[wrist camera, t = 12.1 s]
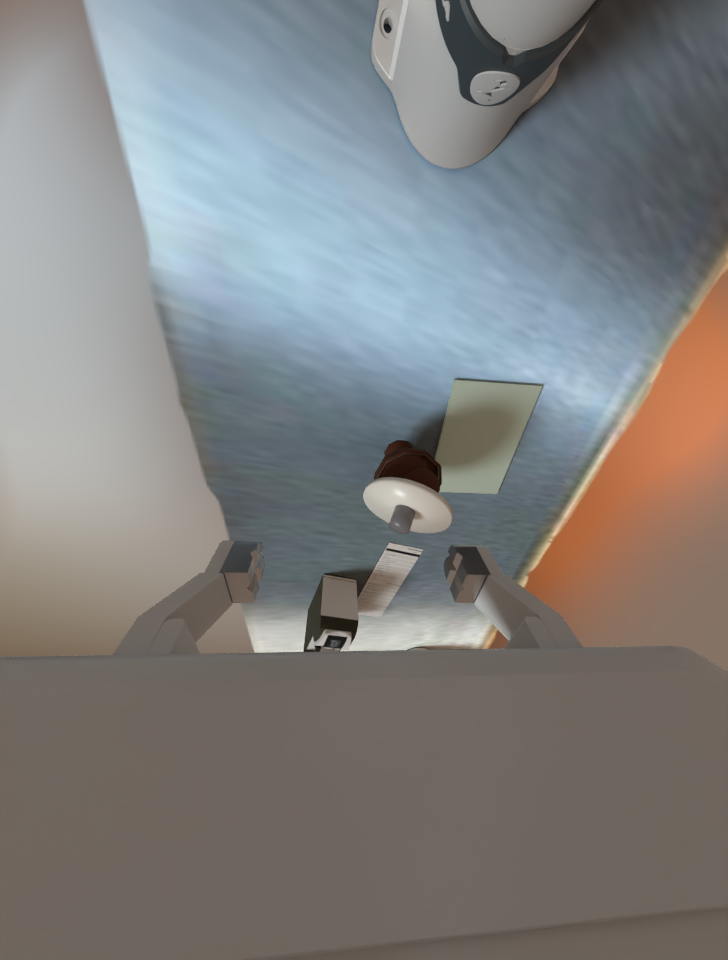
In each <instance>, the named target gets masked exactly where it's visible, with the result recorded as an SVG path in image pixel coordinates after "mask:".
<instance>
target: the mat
mask: <svg viewBox="0 0 728 960" xmlns="http://www.w3.org/2000/svg"><path fill="white" fill-rule="evenodd" d="M542 387H543V386H541V385H527V384H514V383H500V382H486V381H472V380H459V379H454V381H453V385H452V389H451V393H450V397H449V401H448V405H447V409H446V414H445V418H444V422H443V426H442V430H441V434H440V438H439V442H438V446H437V450H436V454H435V458H434V459H435V460H436V461H437V462H438V463H439V464H440V465H441V469H442V485H441V486H440V491H439V492H458V493H487V494H497V493H498V491H499V488H500V486H501V484H502V481H503V479H504V476H505V474H506V472H507V469H508V467H509V465H510V462H511V460H512V458H513V455H514V453H515V450H516V448H517V446H518V443H519V441H520V439H521V436H522V434H523V432H524V429H525V427H526V424H527V422H528V420H529V417H530V415H531V413H532V410H533V408H534V406H535V403H536V401H537V398H538V396H539V394H540V391H541V389H542Z"/></svg>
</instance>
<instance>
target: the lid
mask: <svg viewBox="0 0 728 960" xmlns="http://www.w3.org/2000/svg"><path fill="white" fill-rule="evenodd" d="M363 498H364V502H365V504H366V505H367V507H368V508H369V509H370V510H371V511H372V512H373V513H374V514H375V515H377V516H378V517H379V518H381V519H382V520H384V521H386V522H388V523H389V527H390V528H391V529H392V530H393V531H395V532H397V533H401V534H408V533H409V532H410V531H413V532H420V533H436V532H440V531H443V530H445V529H447V528H448V527H449V526H450V524H451V520H452V516H453V511H452V508H451V506H450V504H449V503H448V502H447V500H446V499H445V498H444V497H442V496H441V495H440V494H439V493H437V492H436V491H434V490H433V489H431V488H429V487H427V486H425V485H423V484H420V483H418V482H415V481H412V480H408V479H404V478H397V477H383V478H378V479H375V480H373V481H371V482H370V483H369V484H368V485H367V487H366V489H365V491H364V494H363Z"/></svg>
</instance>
